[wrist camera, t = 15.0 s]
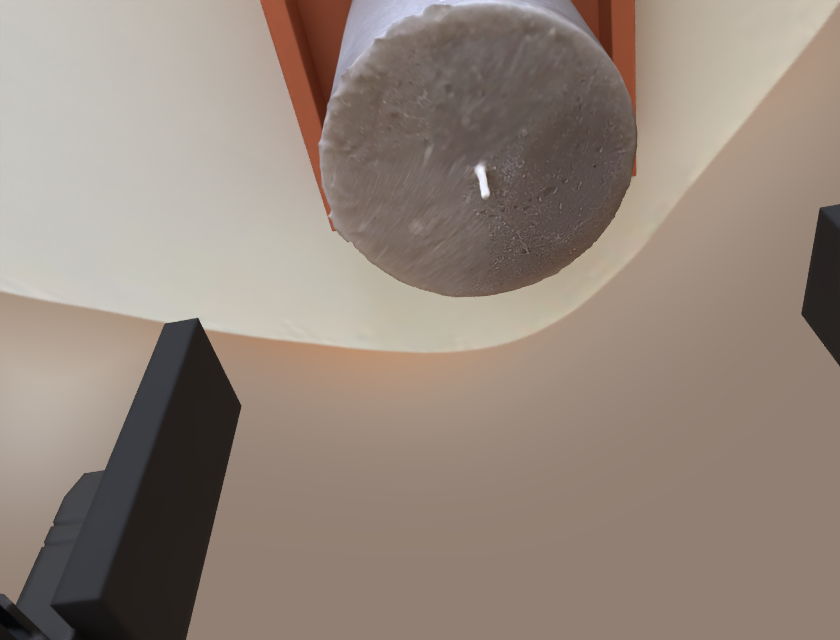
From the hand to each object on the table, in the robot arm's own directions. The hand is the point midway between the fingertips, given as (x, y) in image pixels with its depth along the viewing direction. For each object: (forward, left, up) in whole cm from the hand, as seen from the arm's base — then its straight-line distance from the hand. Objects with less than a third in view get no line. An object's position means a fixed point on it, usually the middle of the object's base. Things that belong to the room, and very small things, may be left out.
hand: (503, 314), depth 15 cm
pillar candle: (0, 0, -21) cm, 21 cm away
